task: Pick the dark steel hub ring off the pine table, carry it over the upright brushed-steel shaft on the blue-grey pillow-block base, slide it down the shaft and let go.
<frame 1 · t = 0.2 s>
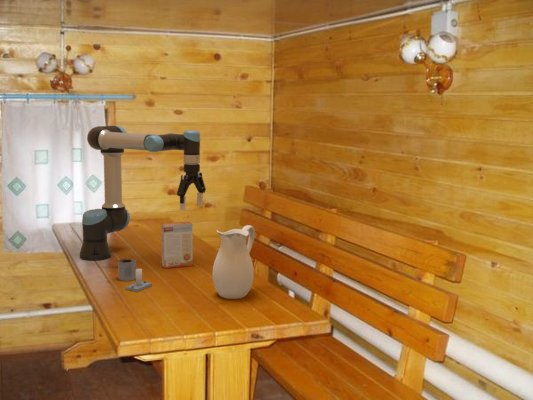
hand: (191, 208, 303), 28 cm above the table, fingers open, 13 cm apart
cracker box: (177, 266, 306), on the table
hub: (127, 278, 283), on the table
shaft stand: (138, 287, 270), on the table
pitcher: (237, 293, 266), on the table
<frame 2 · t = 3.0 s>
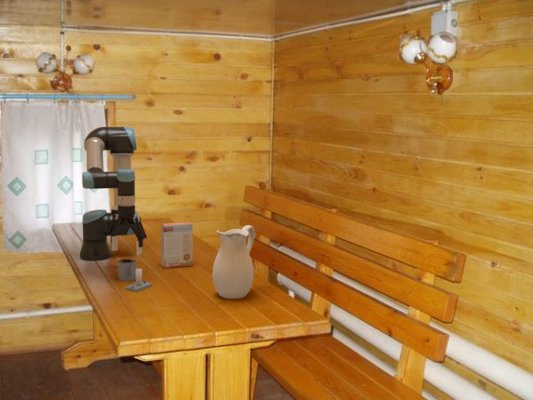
hand: (127, 252, 281), 12 cm above the table, fingers open, 13 cm apart
nothing on the table moved.
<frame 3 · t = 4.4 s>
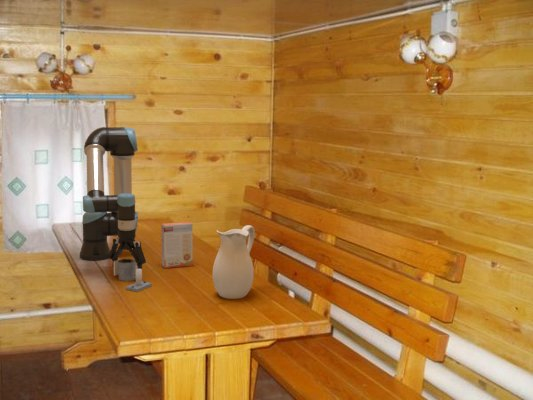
hand: (127, 276, 283), 1 cm above the table, fingers open, 12 cm apart
nothing on the table moved.
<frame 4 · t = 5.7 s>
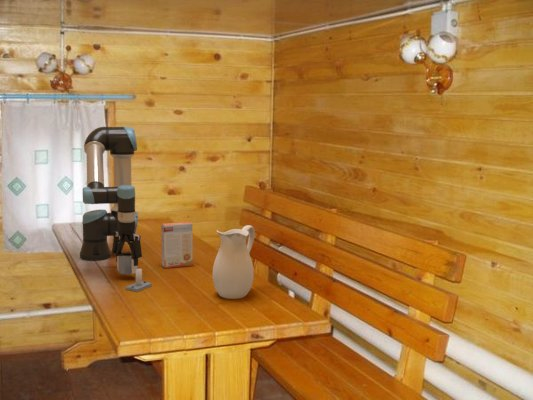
hand: (127, 271, 283), 3 cm above the table, fingers closed on hub, 7 cm apart
hub: (127, 271, 283), point 3 cm above the table, touching gripper
everything else where it was.
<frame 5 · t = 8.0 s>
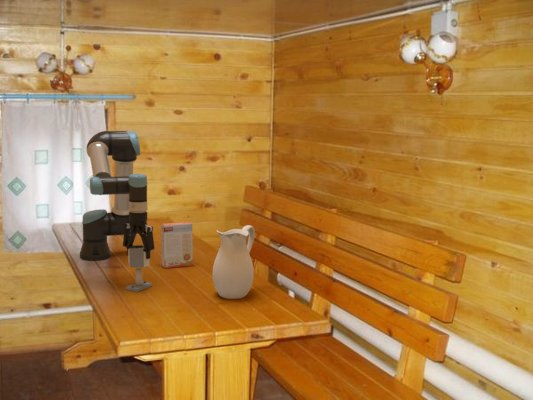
hand: (138, 264, 268), 10 cm above the table, fingers closed on hub, 7 cm apart
hub: (138, 265, 268), point 10 cm above the table, touching gripper
everything else where it was.
when the fingers open (3 cm above the table, at t = 10.6 s): hub drops 1 cm, resting on shaft stand.
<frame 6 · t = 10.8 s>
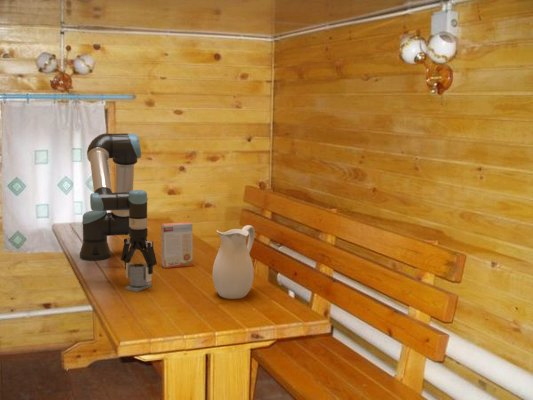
hand: (138, 279, 270), 4 cm above the table, fingers open, 10 cm apart
hub: (139, 283, 270), point 2 cm above the table, touching shaft stand
everything else where it was.
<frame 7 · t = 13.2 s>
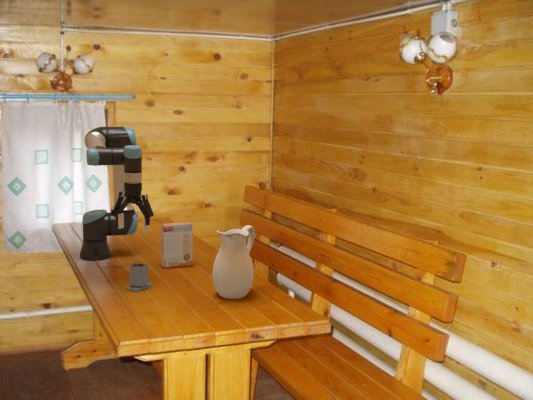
hand: (133, 230, 277), 23 cm above the table, fingers open, 13 cm apart
nothing on the table moved.
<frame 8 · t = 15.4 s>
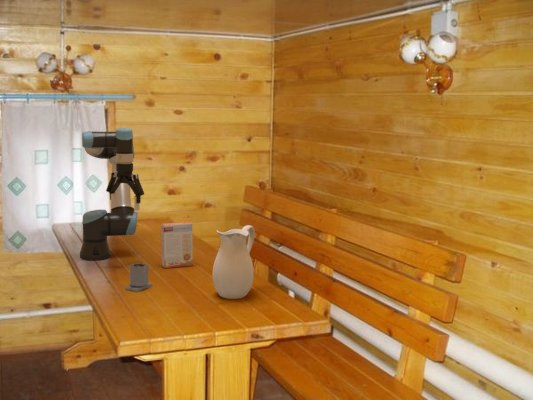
hand: (125, 208, 293), 29 cm above the table, fingers open, 13 cm apart
nothing on the table moved.
at the end: hub 0.1 cm off-centre on the shaft stand, point 1.7 cm above the shaft stand's base; hub tilted 0°; the gripper is holding nothing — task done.
